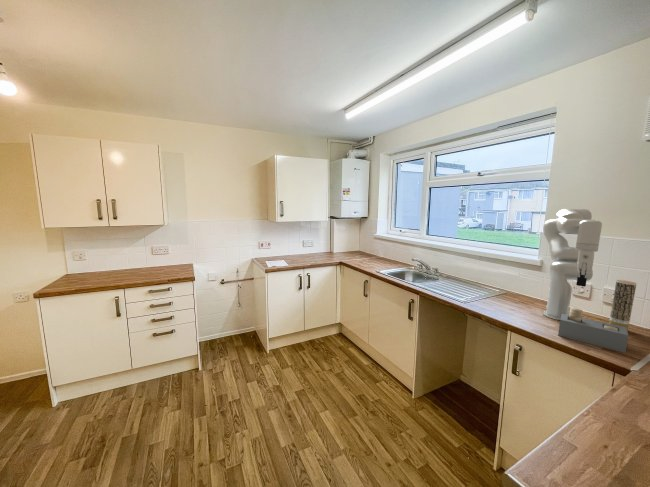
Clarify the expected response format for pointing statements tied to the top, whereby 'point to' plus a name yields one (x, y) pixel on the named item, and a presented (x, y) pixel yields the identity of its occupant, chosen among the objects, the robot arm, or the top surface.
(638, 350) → the top surface
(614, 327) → the peg outer
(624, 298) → the bark textured peg
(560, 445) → the top surface
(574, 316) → the peg inner
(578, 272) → the robot arm
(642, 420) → the top surface
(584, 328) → the block
